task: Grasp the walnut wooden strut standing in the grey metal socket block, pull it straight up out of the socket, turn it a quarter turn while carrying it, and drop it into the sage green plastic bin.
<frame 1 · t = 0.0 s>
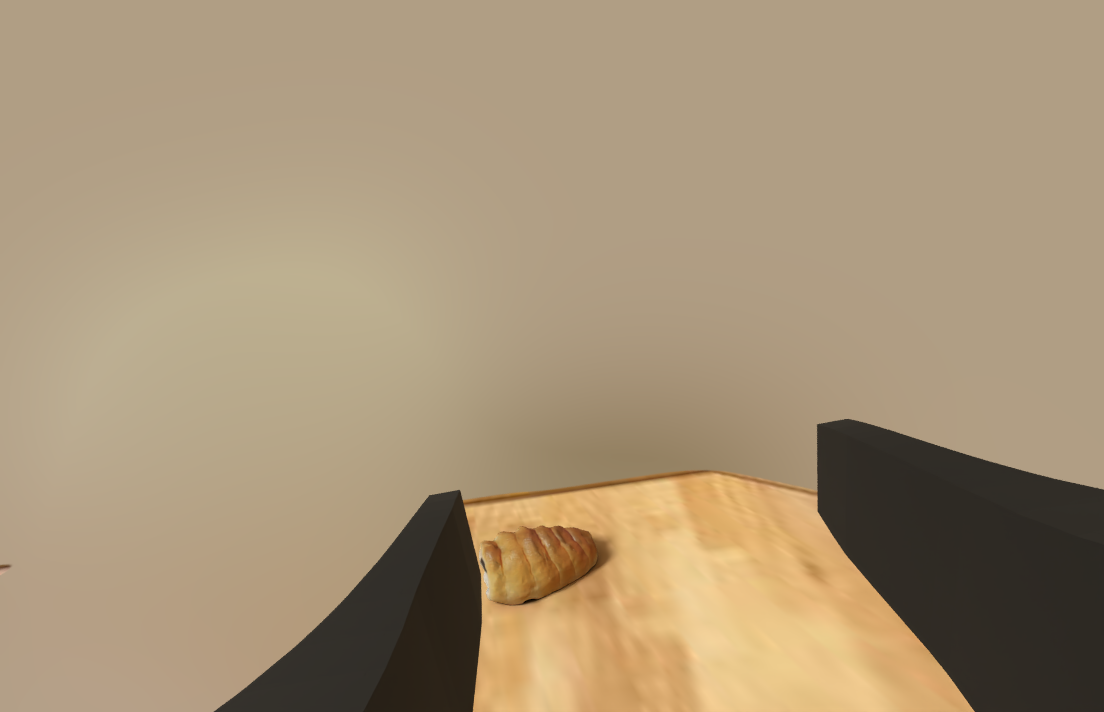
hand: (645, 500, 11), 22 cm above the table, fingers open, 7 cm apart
pastry: (533, 577, 46), on the table
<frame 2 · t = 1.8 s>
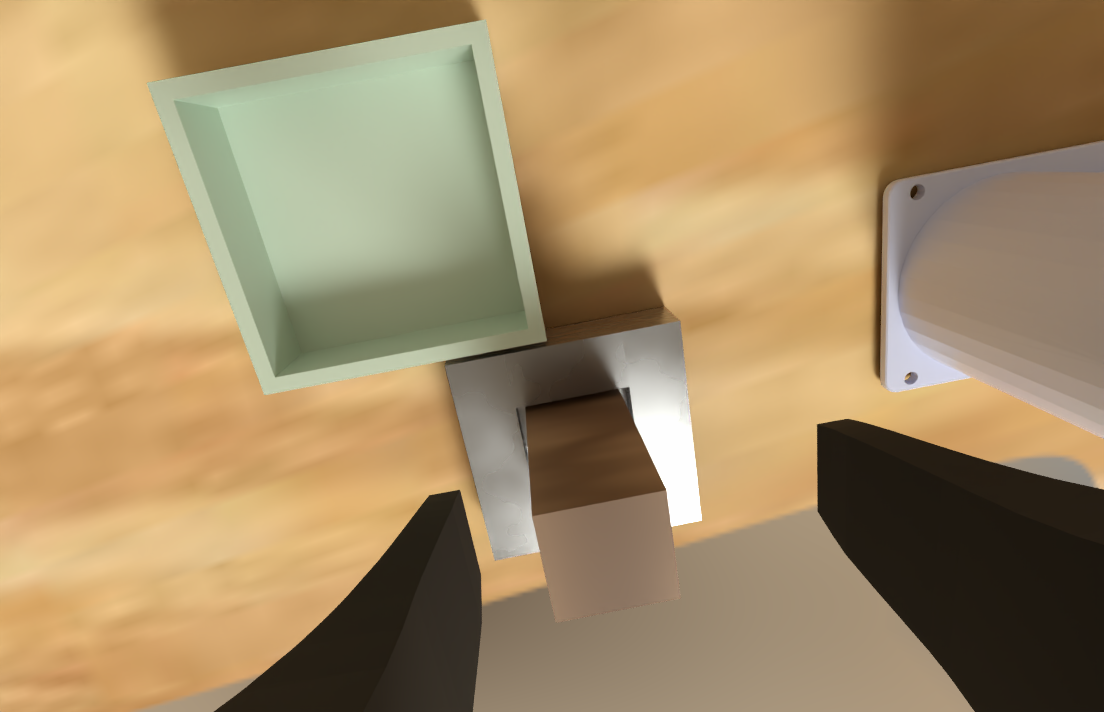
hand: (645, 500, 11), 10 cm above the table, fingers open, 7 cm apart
bin: (386, 214, 19), on the table
socket block: (575, 423, 22), on the table
strut: (578, 435, 21), point 1 cm above the table, touching socket block
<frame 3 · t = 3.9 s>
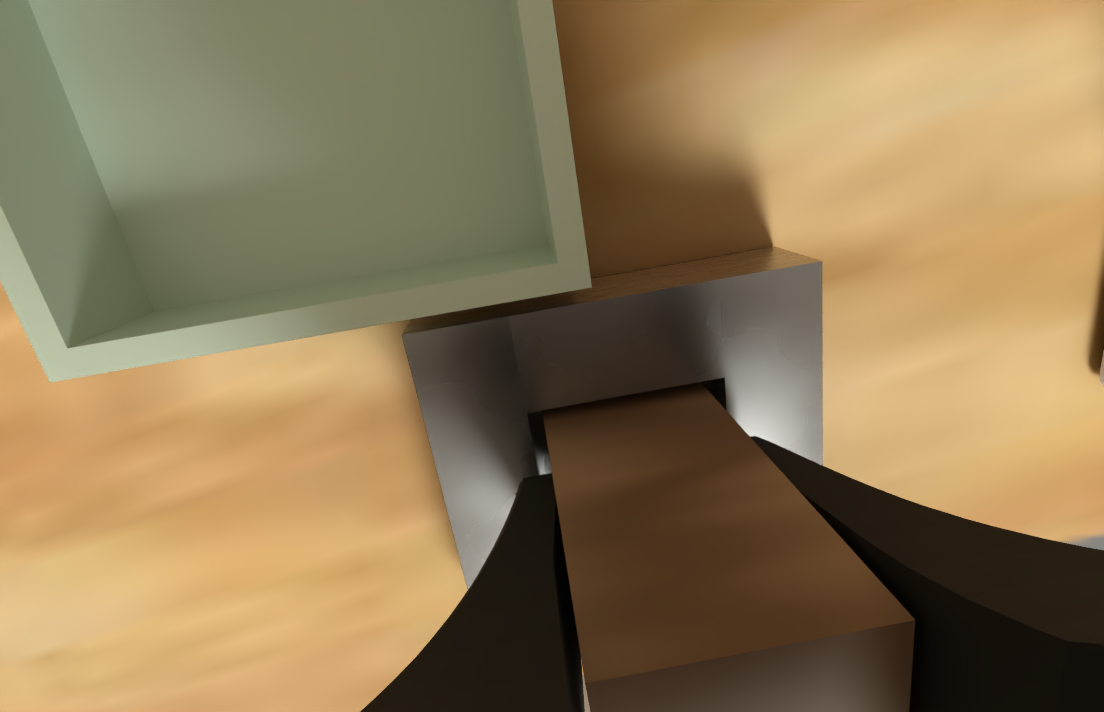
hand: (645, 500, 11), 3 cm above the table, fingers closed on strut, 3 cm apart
bin: (302, 64, 11), on the table
socket block: (618, 438, 14), on the table
strut: (627, 458, 13), point 1 cm above the table, touching gripper, socket block
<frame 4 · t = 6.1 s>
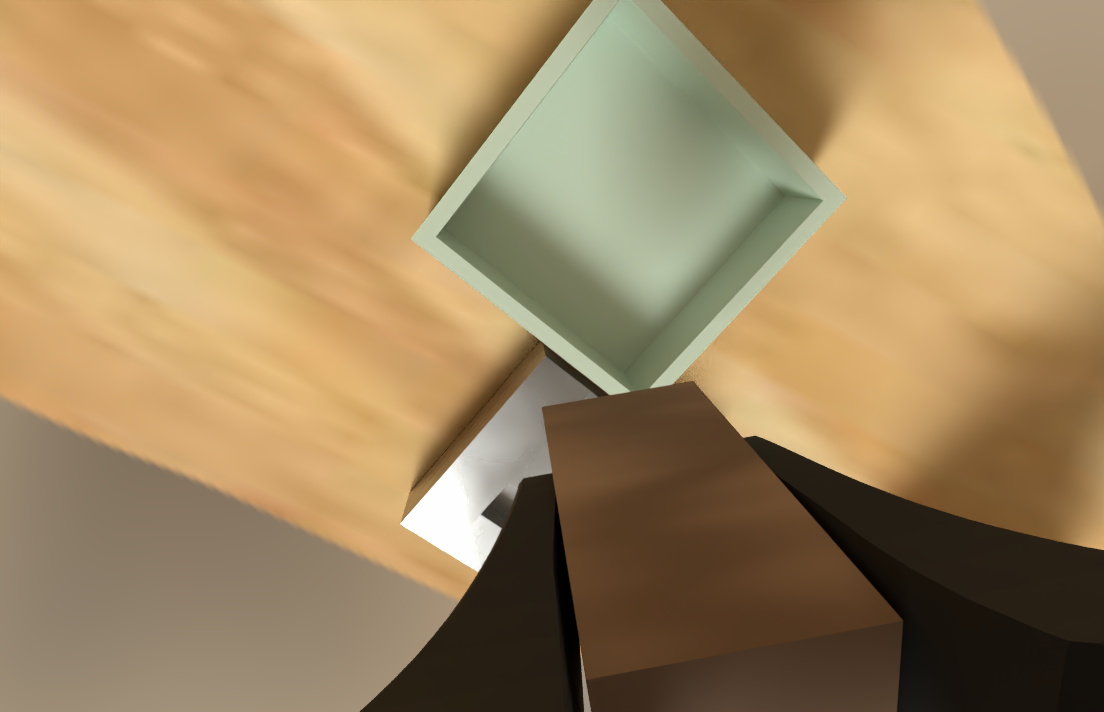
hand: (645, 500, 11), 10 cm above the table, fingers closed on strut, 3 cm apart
bin: (613, 210, 19), on the table
socket block: (554, 476, 22), on the table
strut: (625, 461, 13), point 8 cm above the table, touching gripper
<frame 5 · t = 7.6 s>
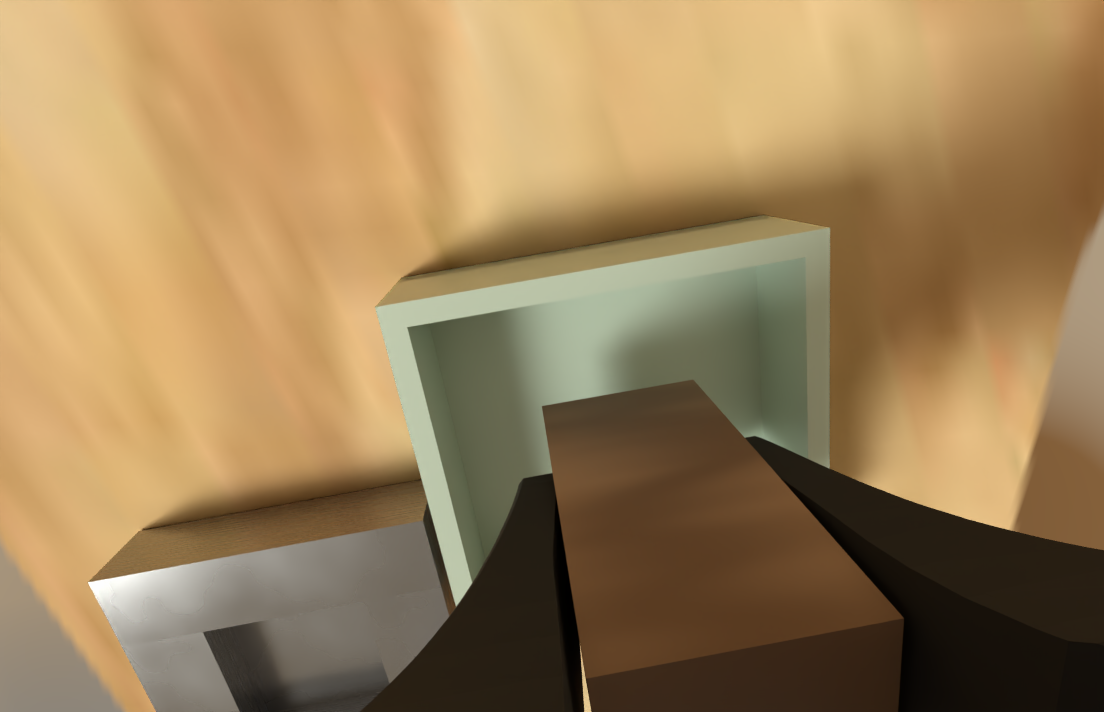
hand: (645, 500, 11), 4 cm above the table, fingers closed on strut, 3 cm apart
bin: (607, 412, 15), on the table
socket block: (328, 619, 17), on the table
strut: (626, 460, 13), point 2 cm above the table, touching gripper
when the fingers open (4 cm above the table, at t = 8.5 s): strut drops 1 cm, resting on bin.
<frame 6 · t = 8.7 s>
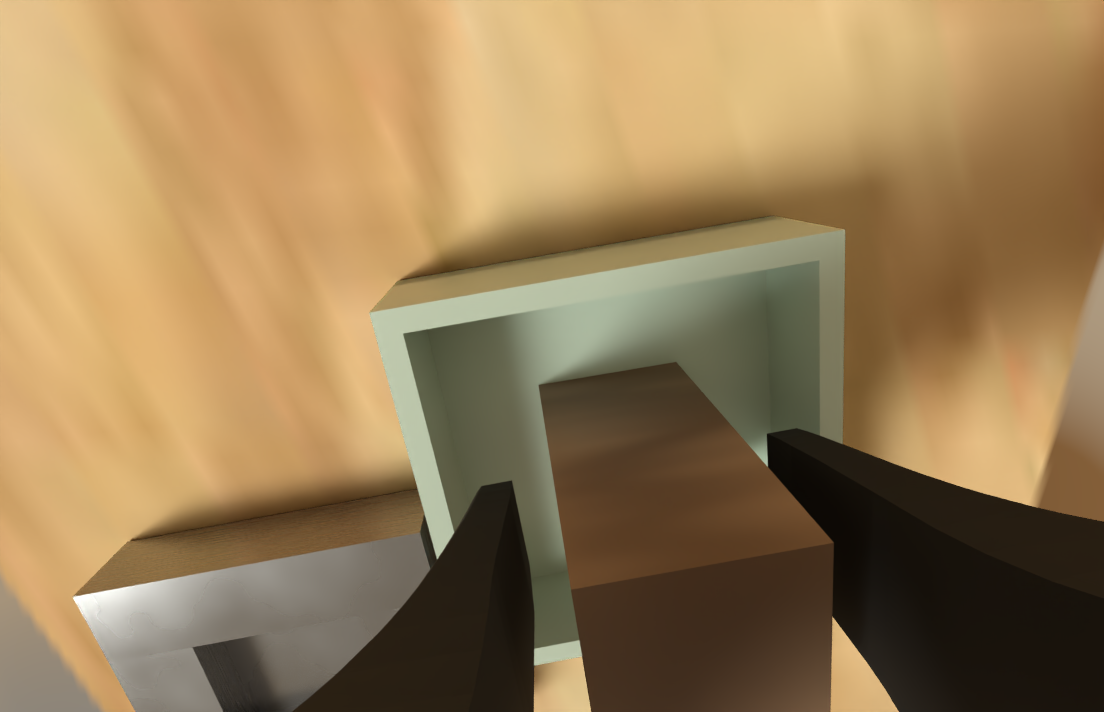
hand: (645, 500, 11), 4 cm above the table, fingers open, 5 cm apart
bin: (610, 419, 15), on the table
socket block: (323, 631, 16), on the table
strut: (615, 435, 14), point 1 cm above the table, touching bin
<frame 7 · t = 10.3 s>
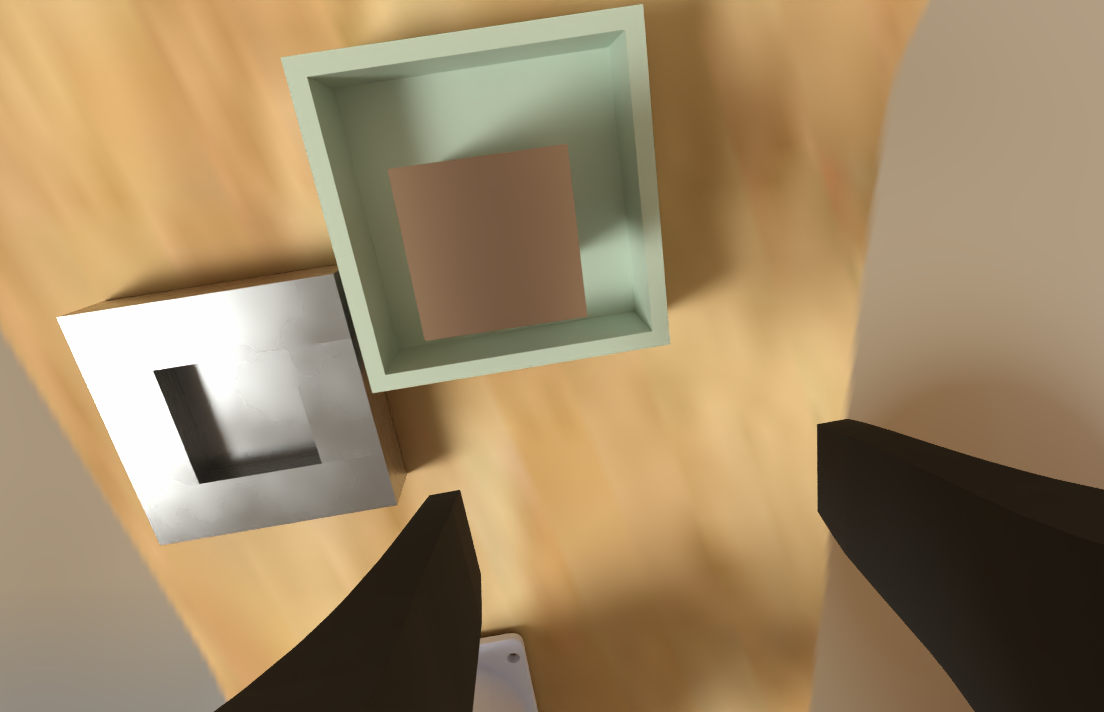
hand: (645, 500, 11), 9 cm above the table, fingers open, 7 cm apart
bin: (497, 207, 18), on the table
socket block: (265, 394, 20), on the table
strut: (497, 214, 18), point 1 cm above the table, touching bin
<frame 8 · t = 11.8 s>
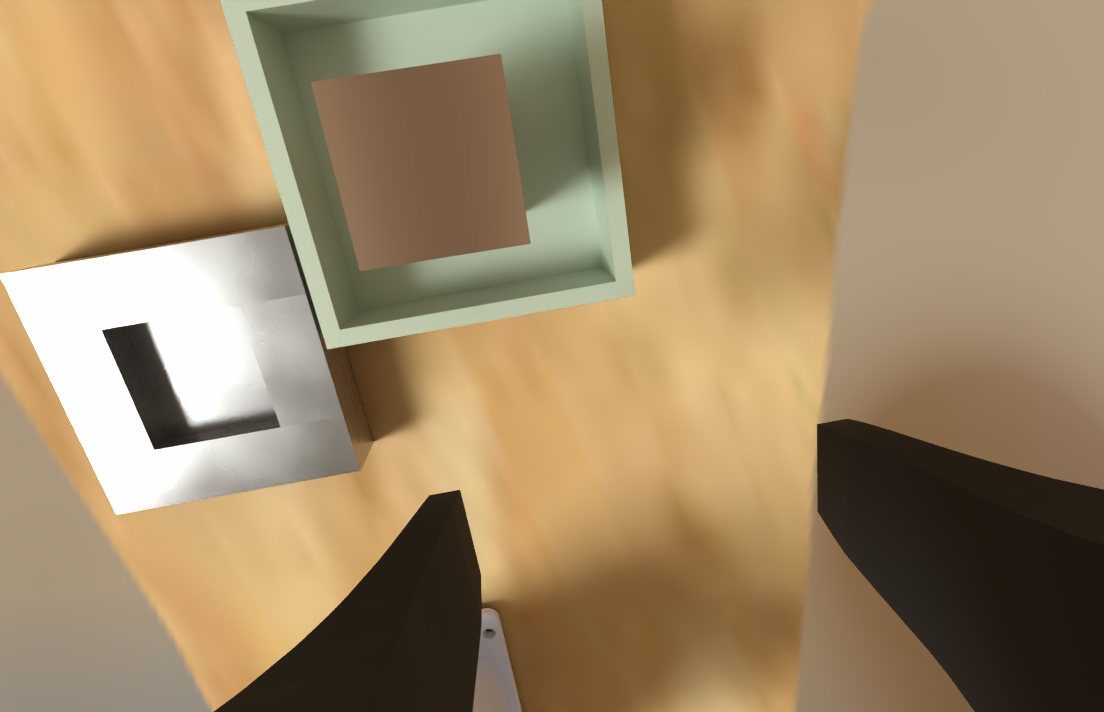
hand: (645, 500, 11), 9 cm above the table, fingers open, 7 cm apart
bin: (457, 159, 18), on the table
socket block: (224, 359, 19), on the table
strut: (456, 166, 17), point 1 cm above the table, touching bin
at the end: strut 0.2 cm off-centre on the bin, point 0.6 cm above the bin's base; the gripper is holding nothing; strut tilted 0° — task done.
